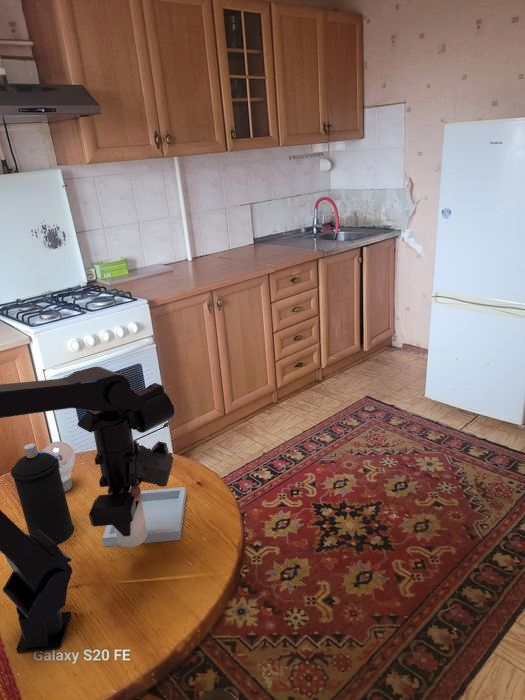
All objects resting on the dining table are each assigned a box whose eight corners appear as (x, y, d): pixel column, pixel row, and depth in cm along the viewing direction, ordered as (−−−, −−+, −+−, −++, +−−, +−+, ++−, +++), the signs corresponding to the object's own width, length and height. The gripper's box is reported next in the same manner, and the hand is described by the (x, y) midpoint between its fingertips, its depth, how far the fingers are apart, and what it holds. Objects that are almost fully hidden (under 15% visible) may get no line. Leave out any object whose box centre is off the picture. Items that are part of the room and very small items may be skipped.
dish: (180, 542, 99) (178, 531, 98) (104, 549, 99) (102, 538, 98) (186, 497, 112) (185, 487, 112) (119, 503, 112) (117, 492, 111)
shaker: (145, 546, 89) (137, 501, 86) (114, 549, 89) (105, 503, 86) (150, 526, 94) (142, 482, 91) (120, 528, 94) (111, 485, 91)
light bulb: (66, 479, 122) (55, 433, 118) (88, 486, 119) (78, 438, 114) (41, 496, 116) (29, 448, 112) (64, 504, 113) (53, 454, 109)
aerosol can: (60, 553, 99) (36, 459, 92) (21, 549, 100) (-6, 457, 93) (83, 524, 106) (62, 435, 99) (46, 520, 108) (23, 433, 101)
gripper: (158, 472, 76) (172, 560, 82) (172, 413, 94) (182, 488, 99) (79, 479, 76) (98, 566, 82) (108, 418, 94) (122, 493, 99)
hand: (130, 525), depth 90 cm, fingers closed on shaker, 5 cm apart
